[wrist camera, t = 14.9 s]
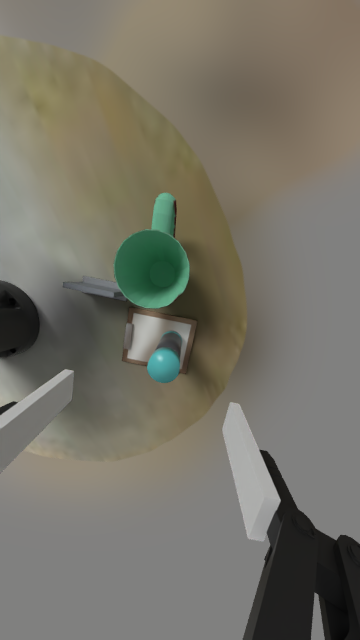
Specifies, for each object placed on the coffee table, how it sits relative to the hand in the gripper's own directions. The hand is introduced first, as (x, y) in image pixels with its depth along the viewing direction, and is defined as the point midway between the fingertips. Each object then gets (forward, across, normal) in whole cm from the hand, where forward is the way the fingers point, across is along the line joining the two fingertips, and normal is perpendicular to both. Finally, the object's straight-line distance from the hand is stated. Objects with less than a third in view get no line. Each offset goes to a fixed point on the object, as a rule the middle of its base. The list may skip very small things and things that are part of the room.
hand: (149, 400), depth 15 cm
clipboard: (+20, -2, -2) cm, 20 cm away
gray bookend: (+20, -14, +6) cm, 25 cm away
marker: (+19, 0, -1) cm, 19 cm away
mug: (+20, -4, +13) cm, 24 cm away
